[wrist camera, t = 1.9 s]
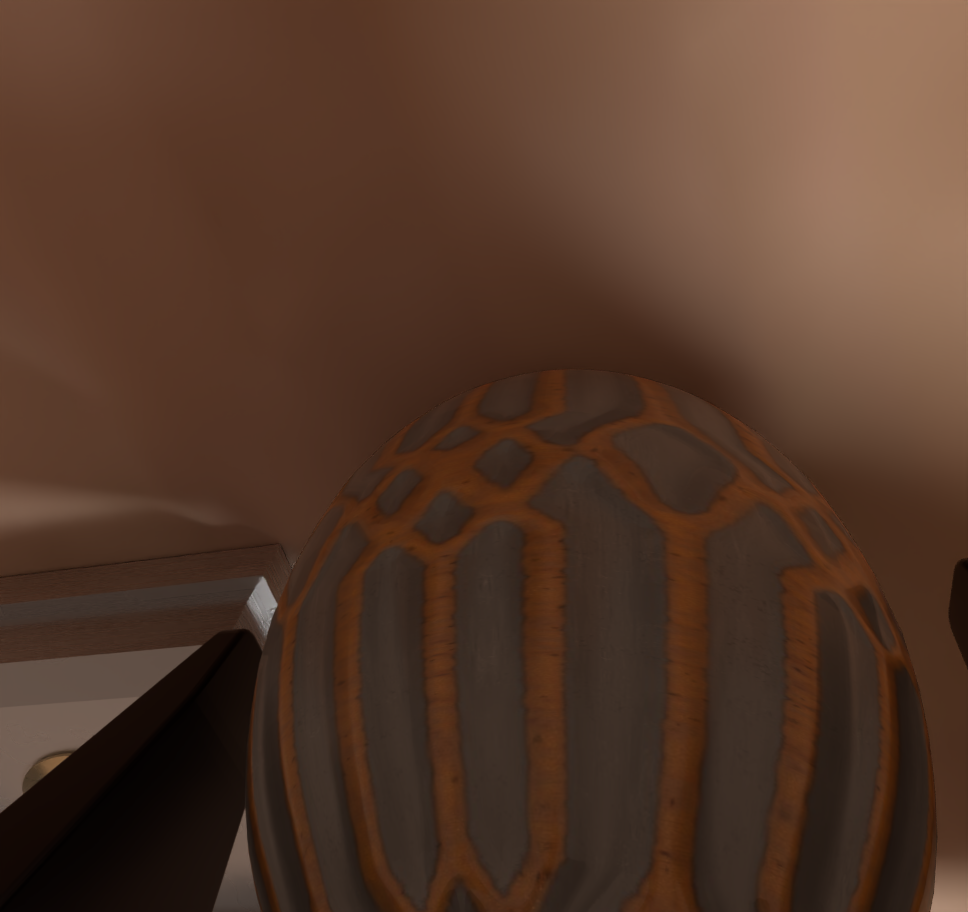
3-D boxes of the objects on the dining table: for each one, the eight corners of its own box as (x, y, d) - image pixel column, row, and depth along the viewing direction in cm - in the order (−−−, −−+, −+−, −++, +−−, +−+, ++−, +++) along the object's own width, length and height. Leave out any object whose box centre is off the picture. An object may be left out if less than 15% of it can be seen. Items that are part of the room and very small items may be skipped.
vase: (270, 408, 11) (-354, 1244, 4) (719, 205, 9) (1534, 1275, 1) (476, 697, 14) (370, 1478, 7) (849, 599, 12) (1327, 1603, 4)
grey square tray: (280, 544, 12) (233, 629, 11) (449, 912, 18) (438, 1004, 17) (-257, 609, 15) (-365, 687, 13) (48, 915, 21) (1, 996, 19)
